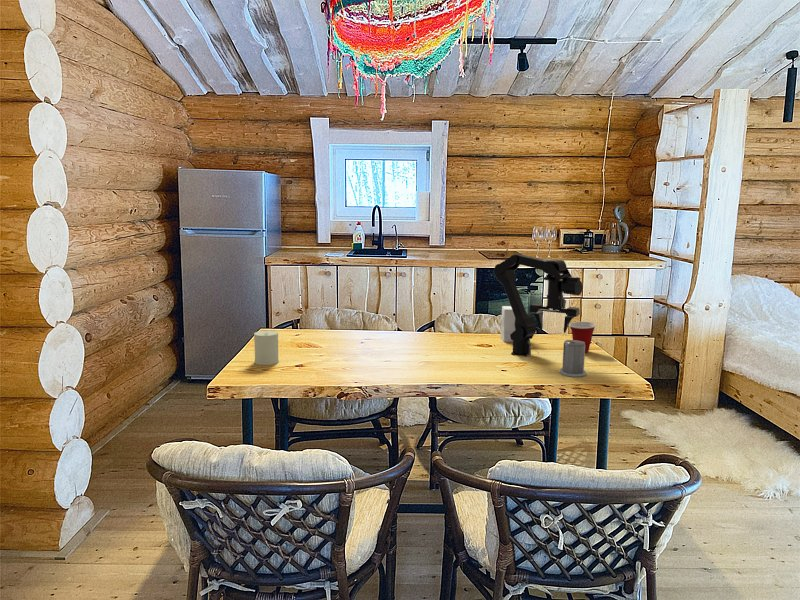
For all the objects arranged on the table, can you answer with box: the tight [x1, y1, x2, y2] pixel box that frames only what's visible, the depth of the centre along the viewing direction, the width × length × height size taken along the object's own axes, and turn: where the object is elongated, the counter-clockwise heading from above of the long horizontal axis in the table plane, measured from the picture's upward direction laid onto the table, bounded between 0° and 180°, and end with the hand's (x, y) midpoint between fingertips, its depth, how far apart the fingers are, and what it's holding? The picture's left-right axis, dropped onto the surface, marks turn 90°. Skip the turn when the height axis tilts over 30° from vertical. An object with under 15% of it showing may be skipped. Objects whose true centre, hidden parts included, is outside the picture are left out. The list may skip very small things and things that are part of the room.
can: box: [253, 330, 280, 366], centre depth 244 cm, size 9×9×12 cm
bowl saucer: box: [559, 368, 587, 378], centre depth 236 cm, size 10×10×4 cm
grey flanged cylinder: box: [561, 339, 586, 374], centre depth 235 cm, size 7×7×11 cm
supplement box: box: [500, 305, 515, 343], centre depth 287 cm, size 9×9×15 cm
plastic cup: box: [568, 321, 597, 354], centre depth 268 cm, size 11×11×12 cm
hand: (553, 331), depth 251 cm, fingers open, 9 cm apart
